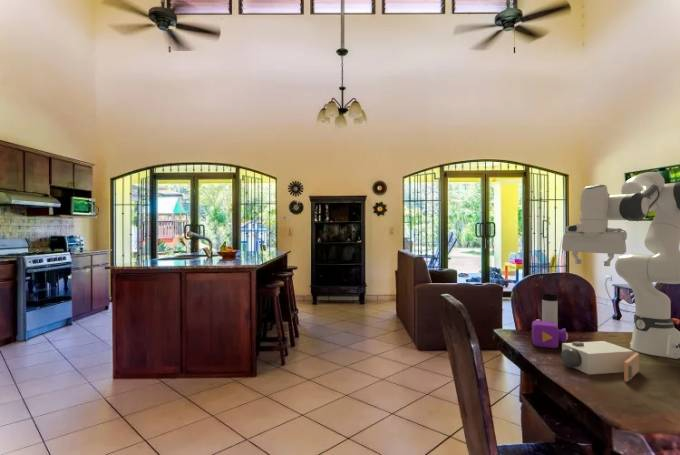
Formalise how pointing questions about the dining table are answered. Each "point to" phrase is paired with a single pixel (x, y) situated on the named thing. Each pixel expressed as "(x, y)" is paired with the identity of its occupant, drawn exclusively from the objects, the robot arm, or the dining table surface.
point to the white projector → (595, 357)
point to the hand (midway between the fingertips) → (592, 264)
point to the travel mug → (550, 308)
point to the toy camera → (547, 334)
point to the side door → (631, 366)
